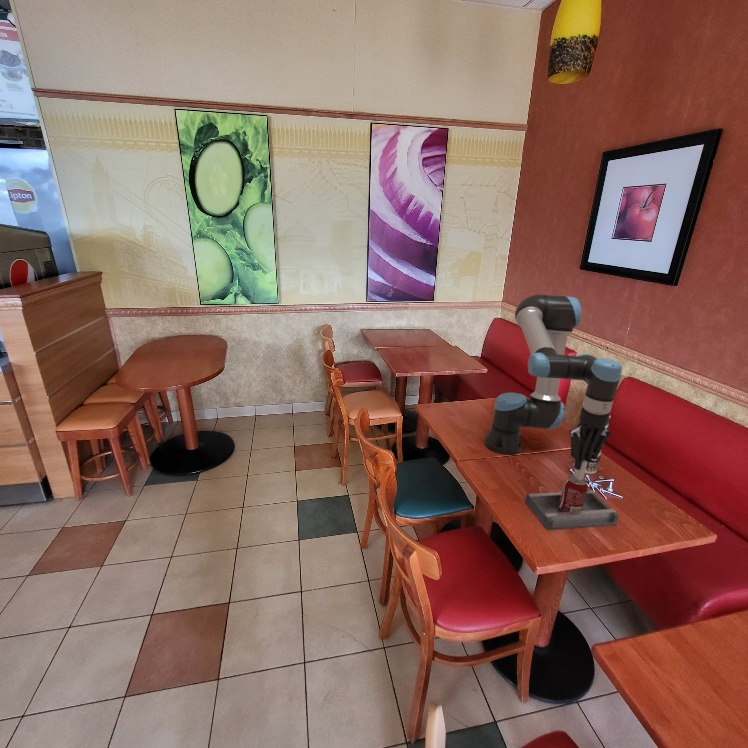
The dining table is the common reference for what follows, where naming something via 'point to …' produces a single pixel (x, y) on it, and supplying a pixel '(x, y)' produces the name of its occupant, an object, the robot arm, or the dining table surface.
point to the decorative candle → (594, 465)
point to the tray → (555, 518)
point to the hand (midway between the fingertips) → (578, 477)
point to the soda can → (573, 494)
